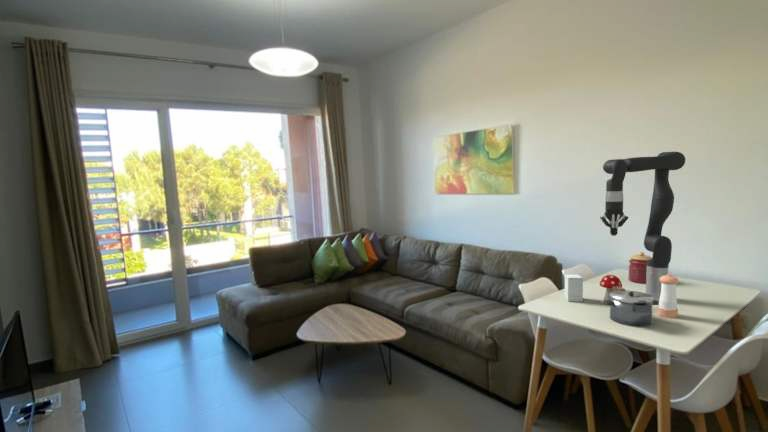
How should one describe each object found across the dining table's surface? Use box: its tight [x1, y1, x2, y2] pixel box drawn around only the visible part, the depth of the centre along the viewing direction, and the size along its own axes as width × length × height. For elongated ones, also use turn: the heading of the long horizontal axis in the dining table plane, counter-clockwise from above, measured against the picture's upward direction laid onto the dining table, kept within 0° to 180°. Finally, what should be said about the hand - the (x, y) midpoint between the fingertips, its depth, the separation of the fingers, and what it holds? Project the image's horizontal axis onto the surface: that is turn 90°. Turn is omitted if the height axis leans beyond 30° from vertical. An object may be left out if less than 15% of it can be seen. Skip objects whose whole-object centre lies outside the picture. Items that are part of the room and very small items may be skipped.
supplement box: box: [564, 274, 584, 303], centre depth 209 cm, size 7×7×13 cm
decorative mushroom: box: [599, 274, 623, 307], centre depth 200 cm, size 10×9×15 cm
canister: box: [628, 251, 652, 284], centre depth 238 cm, size 13×13×18 cm
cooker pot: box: [603, 298, 659, 328], centre depth 177 cm, size 22×18×10 cm
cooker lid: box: [610, 286, 653, 304], centre depth 180 cm, size 17×23×3 cm
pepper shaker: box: [657, 273, 679, 319], centre depth 182 cm, size 7×7×19 cm
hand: (613, 235), depth 197 cm, fingers closed
